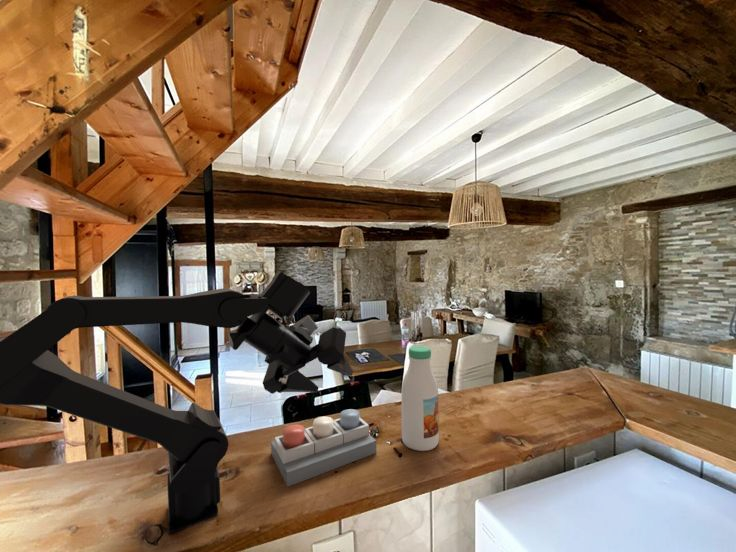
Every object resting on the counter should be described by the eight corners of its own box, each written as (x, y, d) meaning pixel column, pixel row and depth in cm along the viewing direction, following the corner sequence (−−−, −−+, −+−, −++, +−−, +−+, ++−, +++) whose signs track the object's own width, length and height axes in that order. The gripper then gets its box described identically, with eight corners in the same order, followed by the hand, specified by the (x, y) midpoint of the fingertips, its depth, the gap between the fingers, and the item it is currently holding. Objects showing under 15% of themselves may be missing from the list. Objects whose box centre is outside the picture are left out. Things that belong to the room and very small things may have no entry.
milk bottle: (410, 455, 62) (409, 355, 61) (396, 434, 70) (395, 345, 69) (445, 448, 64) (445, 351, 63) (428, 429, 72) (428, 342, 71)
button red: (286, 451, 57) (286, 438, 57) (280, 440, 61) (280, 428, 60) (307, 444, 59) (307, 431, 59) (300, 434, 63) (300, 422, 63)
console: (287, 486, 54) (286, 461, 54) (271, 453, 63) (270, 431, 63) (376, 452, 63) (376, 430, 63) (350, 428, 73) (350, 408, 72)
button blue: (345, 432, 63) (345, 420, 63) (337, 423, 67) (337, 412, 67) (363, 426, 65) (362, 415, 65) (353, 418, 69) (353, 407, 69)
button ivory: (317, 441, 60) (317, 428, 60) (310, 431, 64) (310, 419, 64) (336, 435, 62) (336, 423, 62) (328, 426, 66) (328, 414, 66)
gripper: (319, 285, 58) (372, 331, 65) (254, 327, 65) (308, 365, 72) (307, 330, 49) (370, 379, 56) (234, 373, 56) (298, 411, 63)
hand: (334, 382), depth 62 cm, fingers open, 9 cm apart
